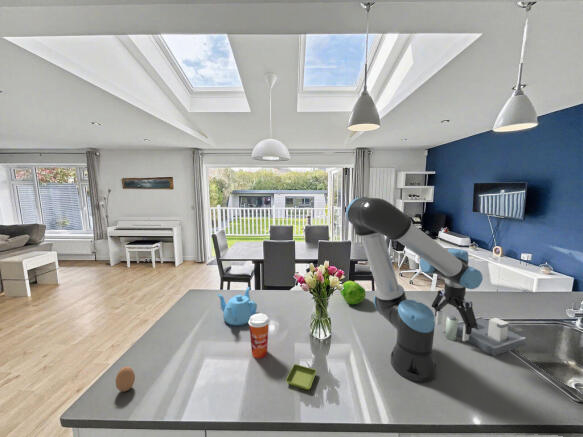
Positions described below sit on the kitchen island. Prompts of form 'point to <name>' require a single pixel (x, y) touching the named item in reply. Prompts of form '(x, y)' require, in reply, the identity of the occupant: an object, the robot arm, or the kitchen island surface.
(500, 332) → the block
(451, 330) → the peg
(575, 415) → the kitchen island surface
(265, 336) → the coffee cup
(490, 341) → the grey socket board
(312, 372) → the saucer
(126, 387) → the egg
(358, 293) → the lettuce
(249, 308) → the teapot
